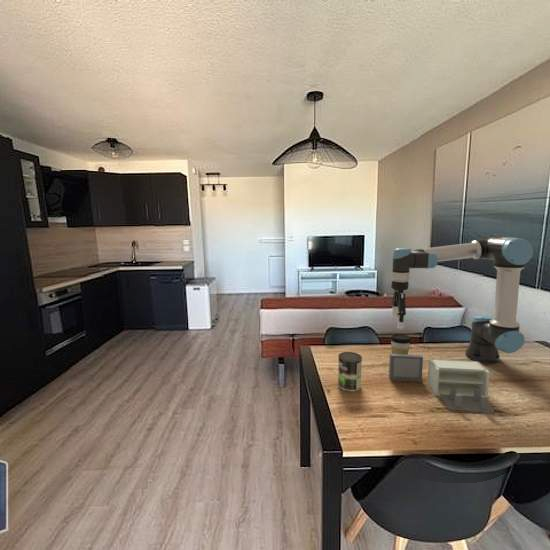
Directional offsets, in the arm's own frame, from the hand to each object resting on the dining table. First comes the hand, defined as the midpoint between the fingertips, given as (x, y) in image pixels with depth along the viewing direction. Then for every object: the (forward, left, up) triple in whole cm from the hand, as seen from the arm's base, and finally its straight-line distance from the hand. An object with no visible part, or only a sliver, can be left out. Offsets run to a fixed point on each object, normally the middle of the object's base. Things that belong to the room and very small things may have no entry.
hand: (397, 323), depth 148 cm
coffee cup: (-3, -7, -24) cm, 25 cm away
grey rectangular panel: (-2, +9, -24) cm, 26 cm away
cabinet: (-21, +22, -24) cm, 39 cm away
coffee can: (+24, +18, -24) cm, 38 cm away
